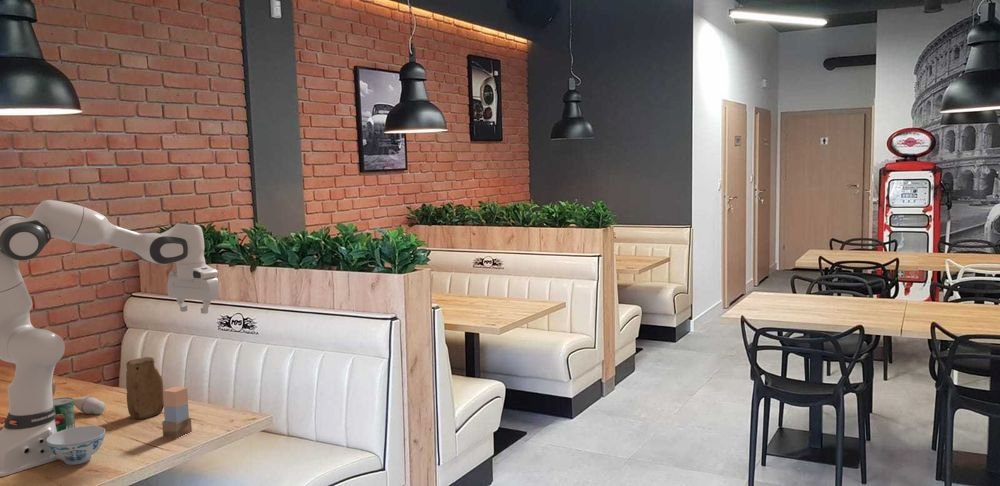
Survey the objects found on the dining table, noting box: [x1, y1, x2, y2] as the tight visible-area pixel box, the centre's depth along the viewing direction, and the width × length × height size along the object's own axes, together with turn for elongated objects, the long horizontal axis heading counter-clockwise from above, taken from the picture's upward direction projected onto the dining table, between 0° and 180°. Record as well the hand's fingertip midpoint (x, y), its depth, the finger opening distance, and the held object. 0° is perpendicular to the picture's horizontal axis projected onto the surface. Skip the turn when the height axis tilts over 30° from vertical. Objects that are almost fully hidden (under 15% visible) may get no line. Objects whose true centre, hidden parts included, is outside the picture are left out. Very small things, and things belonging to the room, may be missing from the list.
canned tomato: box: [53, 396, 76, 432], centre depth 238 cm, size 8×8×11 cm
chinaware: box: [46, 425, 106, 466], centre depth 217 cm, size 15×15×8 cm
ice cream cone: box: [73, 395, 106, 415], centre depth 259 cm, size 6×6×15 cm
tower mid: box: [163, 402, 190, 423], centre depth 237 cm, size 5×5×5 cm
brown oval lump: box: [125, 356, 164, 420], centre depth 255 cm, size 11×8×20 cm
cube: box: [163, 385, 189, 408], centre depth 236 cm, size 5×5×5 cm
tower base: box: [161, 417, 193, 439], centre depth 237 cm, size 6×6×5 cm
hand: (194, 312), depth 246 cm, fingers open, 8 cm apart
